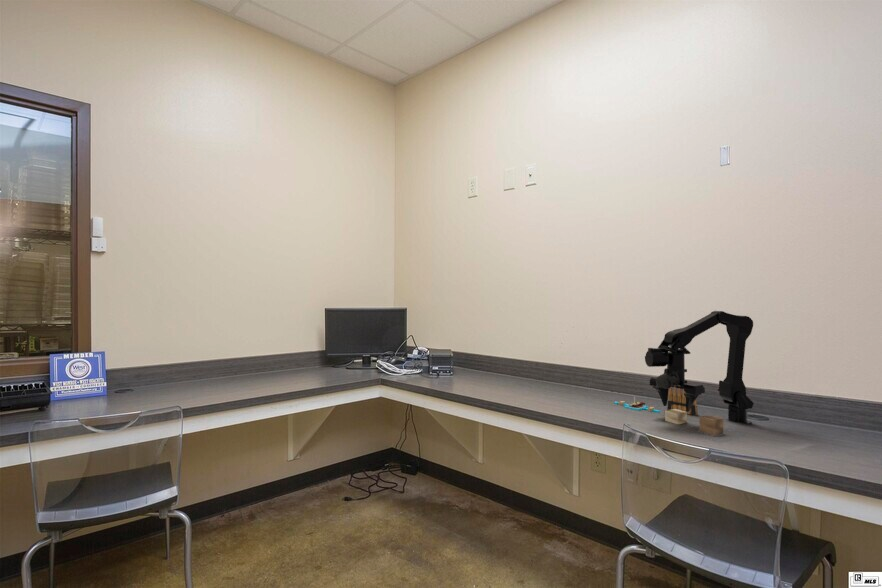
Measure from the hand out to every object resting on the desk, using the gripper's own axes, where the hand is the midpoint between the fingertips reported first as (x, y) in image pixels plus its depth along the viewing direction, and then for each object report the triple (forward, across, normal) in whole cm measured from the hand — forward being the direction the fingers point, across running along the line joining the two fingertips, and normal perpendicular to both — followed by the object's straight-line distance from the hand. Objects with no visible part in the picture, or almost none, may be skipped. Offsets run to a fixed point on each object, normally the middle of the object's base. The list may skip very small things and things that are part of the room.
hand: (676, 408), depth 166 cm
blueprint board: (+6, +14, -1) cm, 15 cm away
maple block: (+6, 0, 0) cm, 6 cm away
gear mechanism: (+7, -24, +8) cm, 26 cm away
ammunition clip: (+6, -7, +13) cm, 16 cm away
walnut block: (+5, +14, -1) cm, 15 cm away
